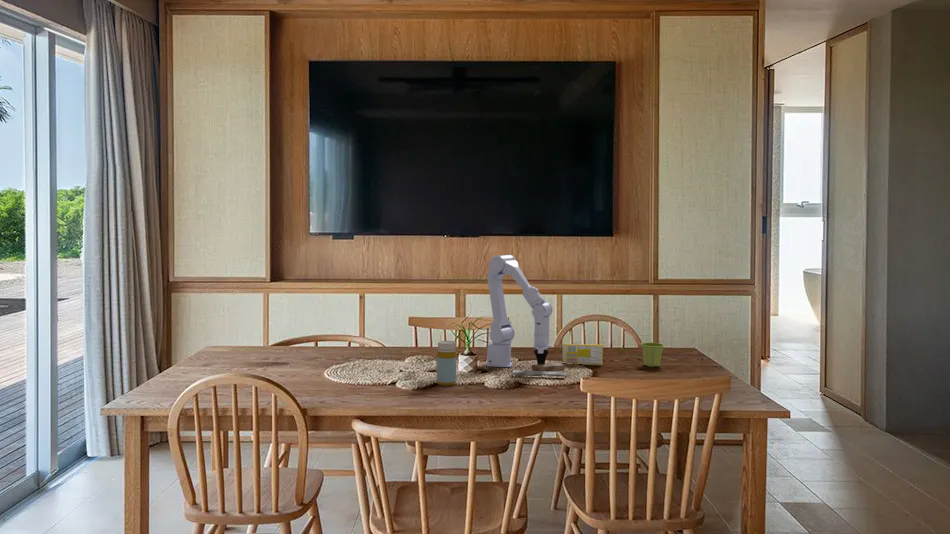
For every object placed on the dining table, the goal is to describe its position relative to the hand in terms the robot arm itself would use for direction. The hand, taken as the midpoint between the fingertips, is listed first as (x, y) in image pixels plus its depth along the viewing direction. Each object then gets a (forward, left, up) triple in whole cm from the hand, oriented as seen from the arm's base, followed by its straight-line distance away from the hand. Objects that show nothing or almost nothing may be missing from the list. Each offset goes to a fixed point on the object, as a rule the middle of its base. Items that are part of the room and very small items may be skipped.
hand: (541, 368), depth 308 cm
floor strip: (0, -10, -1) cm, 10 cm away
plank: (+3, -2, -1) cm, 4 cm away
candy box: (+16, +18, -1) cm, 24 cm away
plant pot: (+44, +22, -1) cm, 49 cm away
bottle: (-32, -29, -1) cm, 43 cm away
